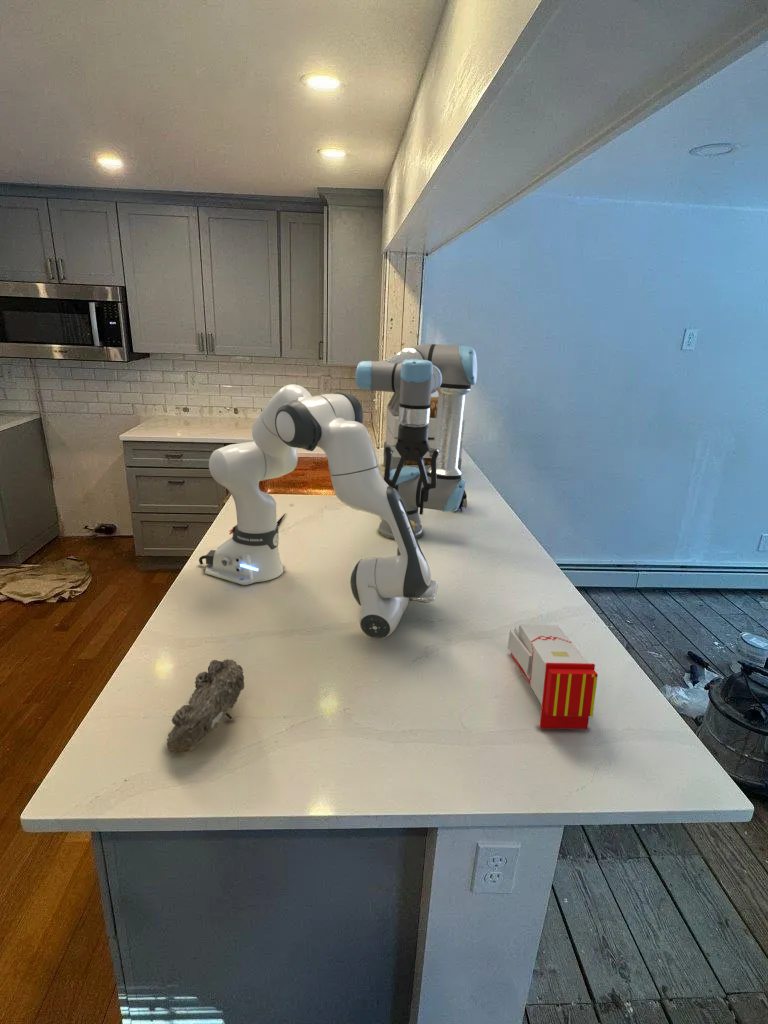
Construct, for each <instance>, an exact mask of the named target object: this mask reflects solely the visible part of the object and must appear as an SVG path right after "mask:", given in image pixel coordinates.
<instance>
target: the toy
mask: <svg viewBox="0 0 768 1024" xmlns="http://www.w3.org/2000/svg"><path fill="white" fill-rule="evenodd" d="M507 649H508V650H509V652H510V656H511V658H512V659H513V661H514V662H515V664H516V665H517V666H518V668H519V670H520V672H521V673H522V675H523V676H524V677H525V679H526V681H527V682H528V684H529V686H530V688H531V690H532V691H533V693H534V694H535V696H536V699H537V700H538V702H539V703H540V705H541V709H540V720H539V728H540V729H541V730H542V729H545V730H546V729H550V730H551V729H553V730H556V729H557V730H588V728H589V720H590V719H589V718H590V717H593V716H594V710H595V709H594V708H595V701H596V692H597V686H598V685H597V683H598V673H597V671H596V664H595V663H589V662H588V661H587V660H586V659H587V658H585V657H584V655H582V653H581V652H580V651H579V649H578V648H577V647H576V646H575V644H574V643H573V642H572V641H571V639H570V638H569V637H568V636H567V634H565V632H564V631H563V630H562V628H561V627H560V626H559V625H558V624H556V625H555V624H518V626H514V630H509V635H508V643H507Z"/></svg>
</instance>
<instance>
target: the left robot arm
mask: <svg viewBox="0 0 768 1024" xmlns="http://www.w3.org/2000/svg"><path fill="white" fill-rule="evenodd" d="M363 422H364V411H363V407H362V404H361V402H360V400H359V399H358V398H357V397H356V396H355V395H353V394H351V393H347V392H337V391H336V392H332V393H323V394H316V395H315V394H314V395H313V396H312V394H311V392H309V390H307V389H306V388H305V387H303V386H302V385H299V384H293V383H292V384H291V383H289V384H287V385H284V386H283V387H281V388H279V390H277V392H275V394H274V395H272V397H271V398H270V399H269V401H268V402H267V403H266V405H265V406H264V407H263V409H262V410H261V411H260V414H259V415H258V417H257V418H256V420H255V421H254V423H253V425H252V427H251V436H252V441H246V442H238V443H232V444H231V443H230V444H229V445H225V446H222V447H219V448H218V449H215V450H213V451H212V453H211V454H210V457H209V460H208V470H209V473H210V475H211V477H212V479H213V480H214V481H215V482H216V483H217V484H219V485H220V486H221V487H224V488H225V489H226V490H227V491H228V492H229V494H230V495H231V497H232V499H233V501H234V505H235V515H236V525H234V526H233V527H232V528H231V529H230V530H229V531H228V532H229V534H228V535H232V537H230V538H229V539H228V540H226V541H225V542H224V543H222V544H220V545H219V546H218V547H217V548H216V550H214V549H211V550H209V552H207V553H206V554H205V555H202V556H200V557H199V558H198V562H199V565H204V562H203V560H205V564H206V567H205V571H204V572H205V574H206V575H209V576H213V577H216V578H218V579H222V580H225V581H227V582H228V581H229V582H231V583H235V584H238V585H242V586H247V585H251V584H255V583H260V582H261V583H262V582H268V581H271V580H274V579H277V578H278V577H280V576H281V575H282V574H283V573H284V567H283V564H282V561H281V557H280V550H279V544H280V543H279V541H280V538H279V537H280V534H279V533H280V532H279V526H278V525H277V524H278V523H277V522H278V519H277V503H276V500H275V499H274V497H273V496H272V495H270V494H269V493H267V492H266V491H262V490H261V489H260V482H261V481H262V482H263V481H267V480H271V479H278V478H281V477H283V476H285V475H288V474H290V473H292V472H294V470H295V469H296V468H297V465H298V462H299V455H298V451H297V449H302V450H306V451H308V452H309V451H310V452H313V451H314V450H315V449H316V448H317V447H318V448H320V450H322V451H323V453H324V454H325V455H326V459H327V462H328V463H327V464H328V470H329V475H330V480H331V485H332V488H333V491H334V493H335V496H336V498H337V499H338V500H339V501H340V502H341V503H342V504H344V505H345V506H347V507H349V508H351V509H353V510H356V511H361V512H365V513H369V514H371V515H375V516H378V517H379V518H381V519H384V520H385V521H387V523H388V524H389V525H390V527H391V530H392V533H393V535H394V538H395V539H394V540H395V543H396V546H397V547H398V549H399V551H400V554H401V555H400V556H397V555H392V556H384V557H383V556H382V557H381V556H378V557H369V558H361V559H359V561H358V562H357V563H356V564H355V566H354V568H353V570H352V572H351V575H350V582H349V583H350V589H351V592H352V595H353V599H354V600H355V601H356V602H357V604H358V605H359V607H360V615H359V626H360V629H361V631H362V632H363V634H365V635H366V636H368V637H370V638H372V639H385V638H387V637H389V636H390V635H391V634H392V633H393V632H394V631H395V629H397V626H398V625H399V623H400V621H401V620H402V617H403V614H404V613H405V611H406V609H407V607H408V605H409V603H416V604H417V603H418V604H424V605H426V604H430V603H433V602H435V599H436V596H437V594H438V588H439V587H438V586H439V584H438V582H437V581H436V580H434V579H433V580H432V574H431V569H430V566H429V564H428V561H427V559H426V557H425V555H424V553H423V551H422V549H421V547H420V544H419V541H418V538H416V536H415V533H414V530H413V527H412V525H411V522H410V519H409V517H408V514H407V511H406V509H405V506H404V504H403V502H402V499H401V497H400V495H399V493H398V492H397V490H396V489H395V488H392V487H390V486H389V485H388V484H387V483H386V482H385V481H384V477H383V475H382V473H381V472H380V468H379V463H378V459H377V455H376V451H375V450H376V449H375V447H374V444H373V441H372V438H371V436H370V434H369V431H368V429H367V427H366V426H365V425H364V424H363Z"/></svg>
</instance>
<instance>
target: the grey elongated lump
mask: <svg viewBox="0 0 768 1024" xmlns="http://www.w3.org/2000/svg"><path fill="white" fill-rule="evenodd" d="M243 670H244V669H243V667H242V665H240V664H237V662H236V661H235V660H234V659H232V658H231V659H227V658H226V659H224V660H223V661H222V660H217V659H212V660H211V661H210V663H209V665H208V666H207V671H201V672H199V673H198V674H197V675H196V676H195V680H194V684H195V685H194V687H195V689H194V690H193V693H192V694H191V697H190V698H189V700H188V704H184V705H182V706H181V707H180V709H177V710H176V711H175V713H174V715H173V716H172V718H171V723H172V724H173V727H172V730H171V731H170V732H168V734H167V738H166V741H167V742H166V745H167V749H168V750H169V751H173V752H174V753H176V754H178V753H182V752H188V751H189V752H192V751H193V750H195V748H196V747H197V746H199V744H200V743H201V742H203V741H204V740H205V739H206V738H207V737H208V736H209V735H210V734H211V733H212V732H214V730H215V729H217V727H218V726H219V724H220V722H221V721H222V720H223V719H224V718H225V716H226V717H227V719H229V720H233V717H232V715H230V714H229V710H230V709H231V708H234V706H235V704H236V703H237V702H238V699H239V697H240V695H241V693H242V691H243V690H245V689H244V688H245V675H244V671H243Z"/></svg>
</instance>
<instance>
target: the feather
mask: <svg viewBox="0 0 768 1024" xmlns="http://www.w3.org/2000/svg"><path fill="white" fill-rule="evenodd" d="M285 515H286V513H283V515H281V517H280V518H279V519H278V520H277V525H278V527H279V526H280V525H281V522H282V520H283V519H284V517H285Z"/></svg>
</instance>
